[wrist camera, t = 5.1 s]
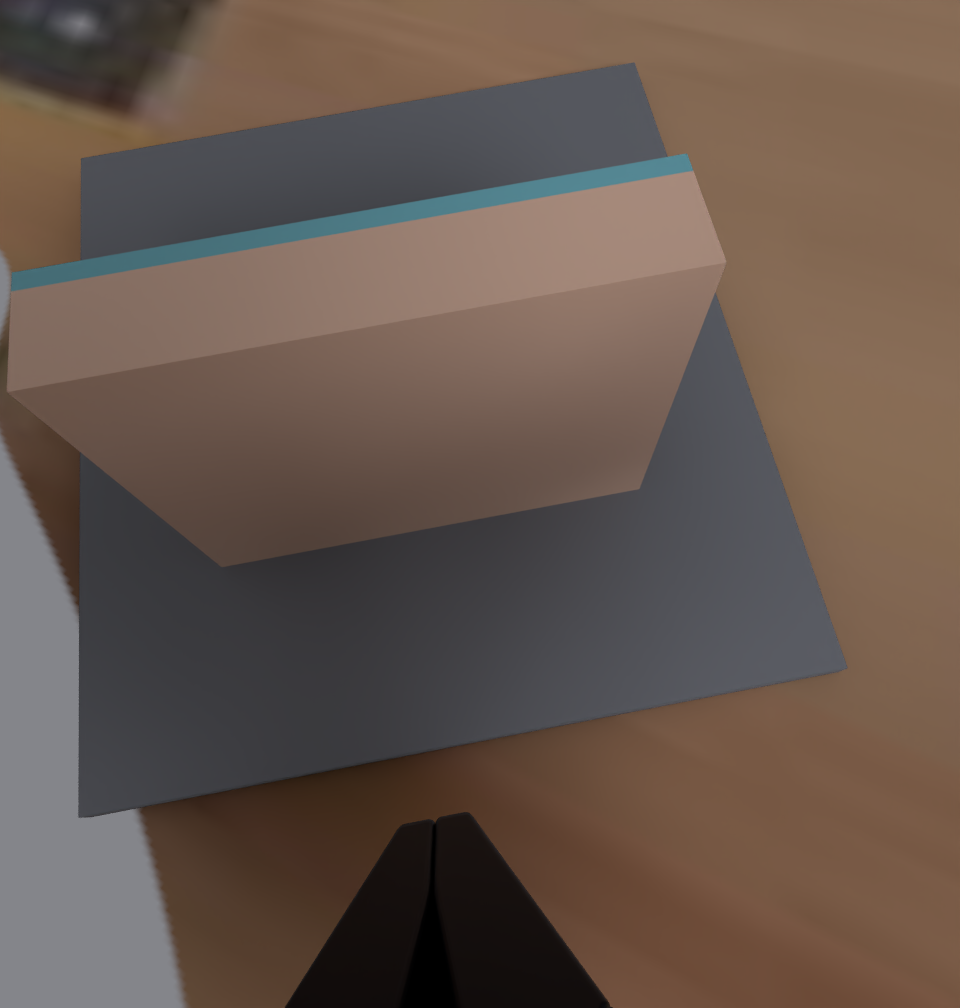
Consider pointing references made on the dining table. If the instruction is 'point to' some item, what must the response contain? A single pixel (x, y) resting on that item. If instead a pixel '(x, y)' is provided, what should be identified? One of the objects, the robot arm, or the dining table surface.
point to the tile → (379, 359)
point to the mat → (435, 551)
